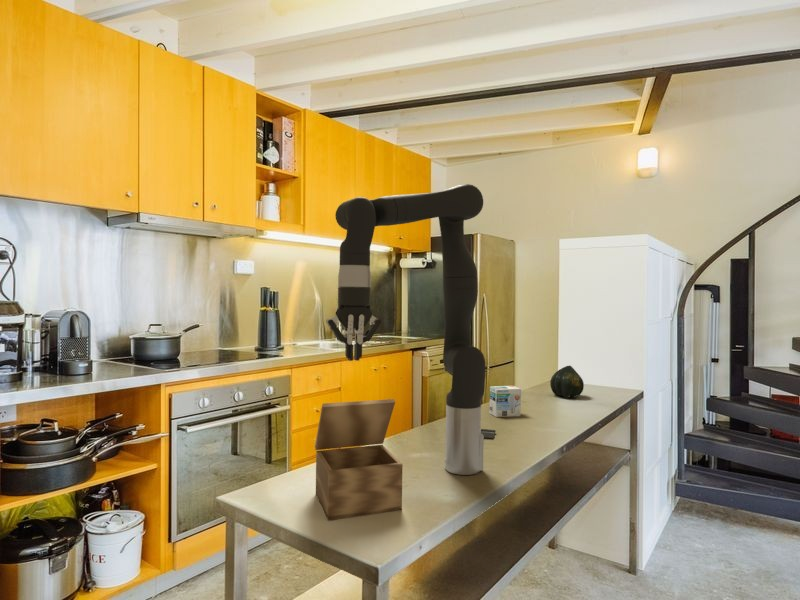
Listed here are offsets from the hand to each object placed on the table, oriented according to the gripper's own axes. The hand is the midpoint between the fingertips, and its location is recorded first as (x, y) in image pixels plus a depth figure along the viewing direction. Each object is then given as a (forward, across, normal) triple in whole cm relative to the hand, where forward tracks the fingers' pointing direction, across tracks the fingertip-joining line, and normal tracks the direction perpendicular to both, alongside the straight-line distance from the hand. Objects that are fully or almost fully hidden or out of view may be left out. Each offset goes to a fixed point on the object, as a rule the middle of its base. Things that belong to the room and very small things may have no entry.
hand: (353, 360), depth 114 cm
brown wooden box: (+31, 0, +5) cm, 31 cm away
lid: (+15, 0, +2) cm, 15 cm away
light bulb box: (+31, -76, -55) cm, 99 cm away
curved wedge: (+32, -52, -34) cm, 70 cm away
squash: (+31, -123, -77) cm, 148 cm away
